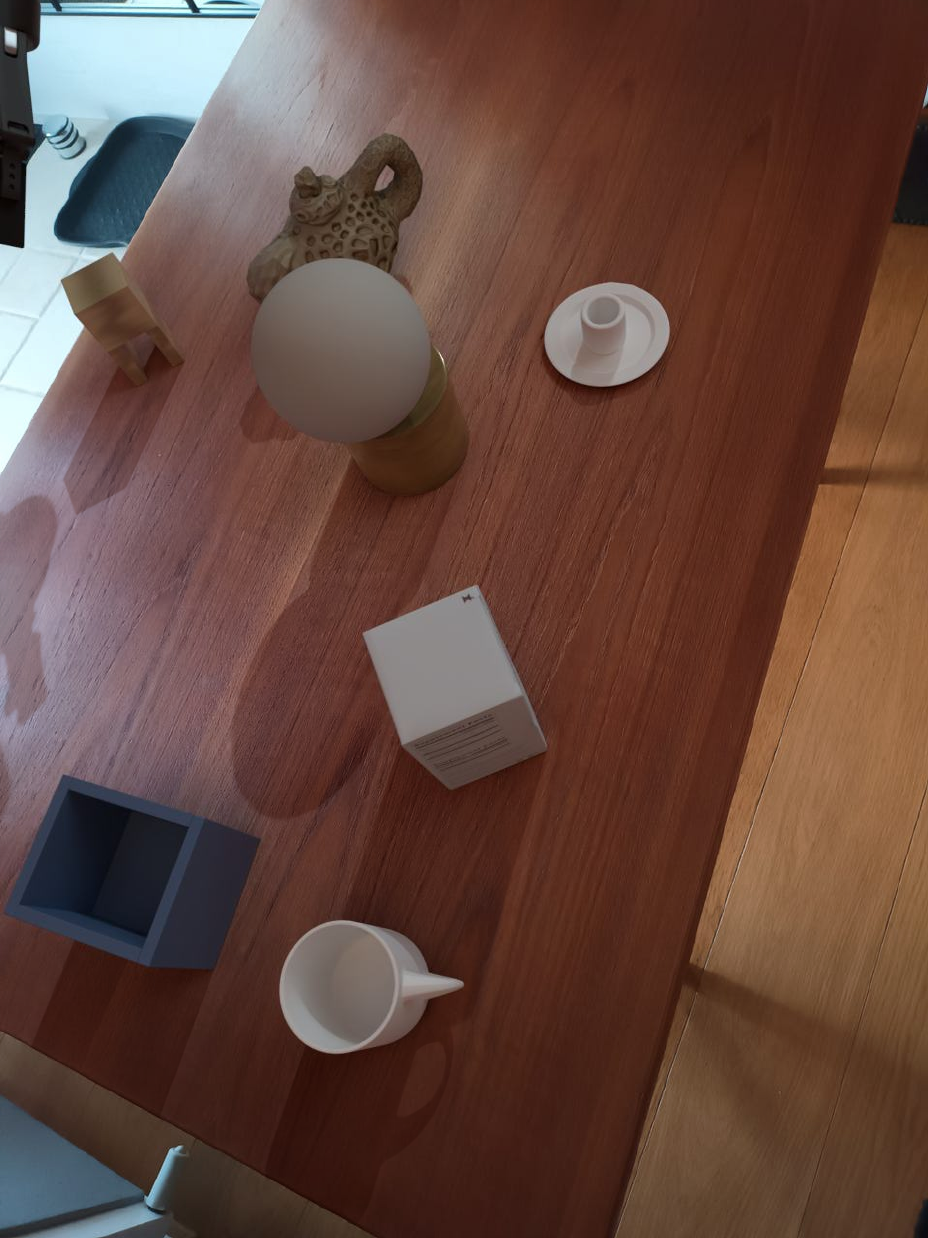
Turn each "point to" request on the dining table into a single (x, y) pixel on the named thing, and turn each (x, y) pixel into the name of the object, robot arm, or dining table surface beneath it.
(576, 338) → the candle holder
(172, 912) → the blue bin
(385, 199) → the teapot
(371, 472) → the lamp
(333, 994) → the mug
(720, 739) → the dining table surface
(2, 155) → the robot arm
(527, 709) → the supplement box
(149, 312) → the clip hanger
